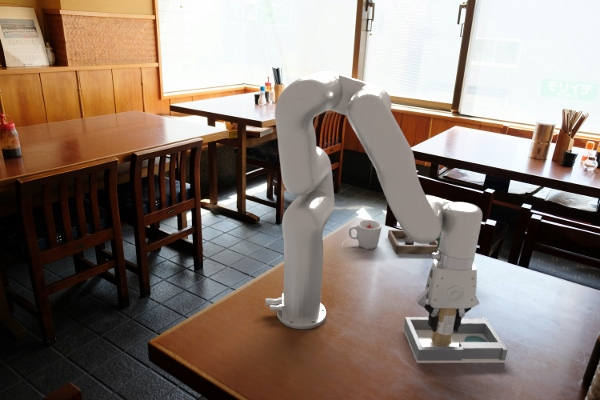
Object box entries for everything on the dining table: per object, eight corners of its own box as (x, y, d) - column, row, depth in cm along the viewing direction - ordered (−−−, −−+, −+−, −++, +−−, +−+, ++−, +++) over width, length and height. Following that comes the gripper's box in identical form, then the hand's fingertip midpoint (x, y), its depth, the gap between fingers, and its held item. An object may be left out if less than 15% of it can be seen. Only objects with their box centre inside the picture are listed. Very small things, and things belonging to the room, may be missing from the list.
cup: (346, 248, 153) (348, 227, 150) (348, 238, 160) (350, 217, 158) (379, 252, 152) (381, 230, 149) (379, 241, 159) (381, 220, 156)
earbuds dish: (396, 254, 151) (397, 246, 149) (387, 237, 162) (388, 229, 161) (439, 254, 151) (441, 246, 150) (428, 237, 163) (429, 230, 162)
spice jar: (428, 335, 109) (435, 286, 105) (446, 334, 110) (455, 286, 105) (435, 348, 105) (443, 297, 100) (454, 347, 106) (463, 297, 101)
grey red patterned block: (404, 252, 153) (405, 243, 152) (404, 242, 159) (405, 234, 158) (418, 253, 152) (419, 245, 151) (418, 244, 158) (419, 236, 157)
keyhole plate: (417, 362, 102) (419, 349, 101) (403, 329, 113) (405, 317, 112) (504, 362, 103) (507, 349, 102) (482, 329, 114) (485, 317, 113)
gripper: (422, 266, 96) (411, 338, 102) (500, 267, 97) (485, 338, 103) (412, 250, 103) (403, 318, 109) (486, 250, 104) (472, 318, 110)
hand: (443, 327), depth 106 cm, fingers closed on spice jar, 4 cm apart
